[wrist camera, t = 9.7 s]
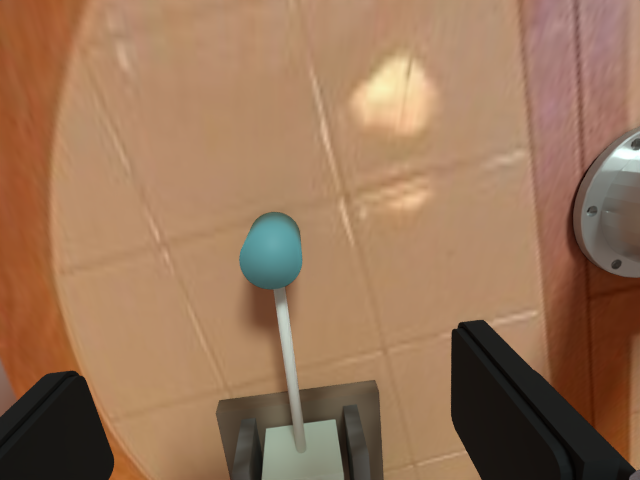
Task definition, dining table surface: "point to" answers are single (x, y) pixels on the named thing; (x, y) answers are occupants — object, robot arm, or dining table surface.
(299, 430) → the cube with teal knob
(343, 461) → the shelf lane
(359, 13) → the dining table surface
